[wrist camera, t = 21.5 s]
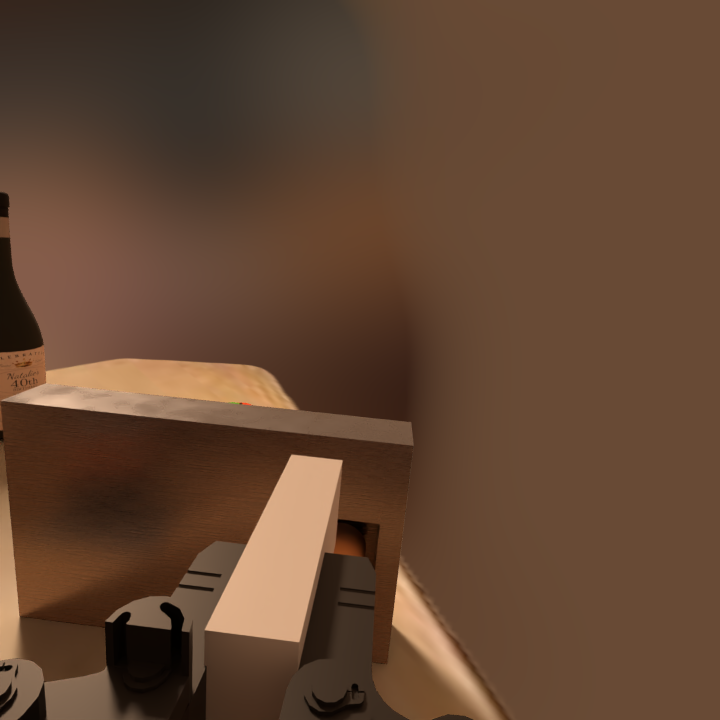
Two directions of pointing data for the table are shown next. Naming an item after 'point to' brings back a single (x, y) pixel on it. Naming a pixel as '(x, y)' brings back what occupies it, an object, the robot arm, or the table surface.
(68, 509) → the panel
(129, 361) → the table surface
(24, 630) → the table surface
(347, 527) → the orange rounded cylinder
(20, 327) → the wine bottle
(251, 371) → the table surface
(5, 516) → the table surface
